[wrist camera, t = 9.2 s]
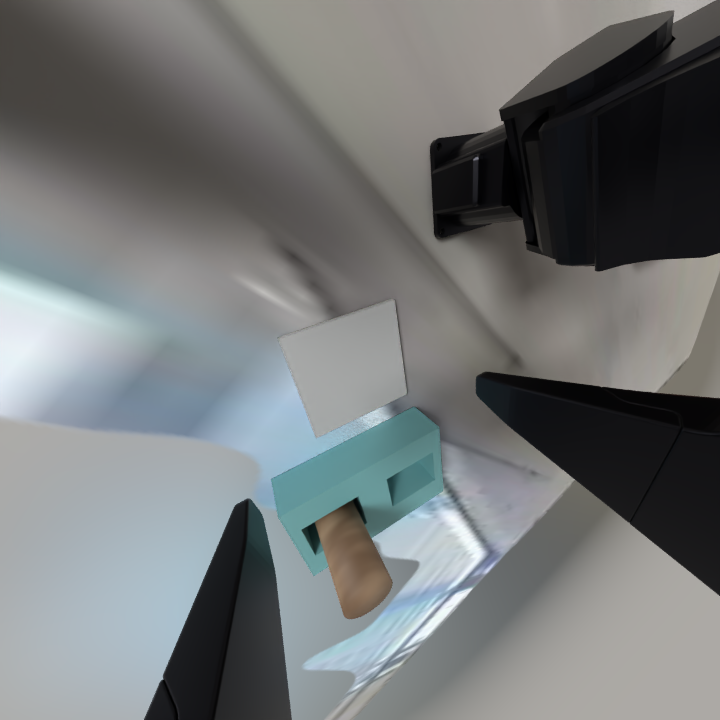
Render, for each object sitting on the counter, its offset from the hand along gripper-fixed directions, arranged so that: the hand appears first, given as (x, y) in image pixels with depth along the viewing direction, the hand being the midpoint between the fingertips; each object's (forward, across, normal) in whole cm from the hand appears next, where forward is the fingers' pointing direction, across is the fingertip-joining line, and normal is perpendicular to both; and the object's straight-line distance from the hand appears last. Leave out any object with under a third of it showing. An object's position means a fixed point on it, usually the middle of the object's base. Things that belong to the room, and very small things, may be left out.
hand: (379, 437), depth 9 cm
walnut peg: (+12, +3, +17) cm, 21 cm away
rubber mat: (+13, -3, +5) cm, 14 cm away
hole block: (+13, -1, +17) cm, 21 cm away
